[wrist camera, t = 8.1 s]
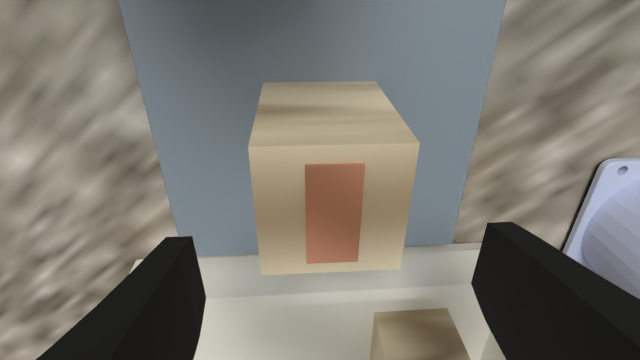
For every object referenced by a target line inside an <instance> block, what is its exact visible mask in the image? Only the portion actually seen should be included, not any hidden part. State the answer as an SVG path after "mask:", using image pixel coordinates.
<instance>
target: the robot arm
mask: <svg viewBox="0 0 640 360" xmlns="http://www.w3.org/2000/svg"><path fill="white" fill-rule="evenodd" d="M619 168H620V169H619ZM618 169H619V170H618ZM471 285H472V287H473V290H474V293H475V295H476V298H477V301H478V304H479V306H480V309H481V311H482V313H483V316H484V318H485V321H486V323H487V325H488V327H489V329H490V330H491V332H492V334H493V336H494V338H495V340H496V342H497V344H498V345H499V347H500V349H501V351H502V353H503V355H504V356H505V358H506V360H640V158H621V159H608V160H606V161H604V162H603V163H601V164H600V166H599V167H598V170H597V172H596V174H595V177H594V179H593V181H592V184H591V186H590V188H589V191H588V193H587V195H586V198H585V200H584V202H583V205H582V207H581V209H580V212H579V214H578V216H577V219H576V221H575V223H574V226H573V228H572V230H571V233H570V235H569V238H568V240H567V242H566V245H565V247H564V249H563V252H561V251H559V250H558V249H556V248H555V247H553V246H551V245H550V244H548V243H547V242H545V241H543V240H542V239H540V238H539V237H537V236H535V235H534V234H532V233H530V232H529V231H527V230H525V229H524V228H522V227H520V226H518V225H516V224H514V223H513V222H499V223H487V227H486V230H485V234H484V238H483V241H482V245H481V248H480V252H479V256H478V259H477V263H476V266H475V270H474V274H473V277H472V281H471ZM205 302H206V294H205V290H204V285H203V281H202V276H201V272H200V268H199V263H198V259H197V255H196V250H195V246H194V242H193V237H192V236H185V237H166V238H165V239H164V240H163V241H162V242H161V243H160V244H159V245H158V246H157V247H156V248H155V249H154V250H153V251H152V252H151V253H150V254H149V255H148V256H147V257H146V258H145V259H144V260H143V261H142V262H141V263H140V264H139V265H138V266H137V267H136V268H135V269H134V270H133V271H132V272H131V273H130V274H129V275H128V276H127V277H126V278H125V279H124V280H123V281H122V282H121V283H120V284H119V285H118V286H117V287H116V288H115V289H114V290H113V291H112V292H110V293H109V294H108V295H107V296H106V297H105V298H104V299H103V300H102V301H101V302H100V303H99V304H98V305H97V306H96V307H95V308H94V309H93V310H92V311H90V312H89V313H88V314H87V315H86V316H85V317H84V318H83V319H82V320H80V321H79V322H78V323H77V324H76V325H75V326H74V327H73V328H72V329H70V330H69V331H68V332H67V333H66V334H65V335H64V336H63V337H62V338H60V339H59V340H58V341H57V342H56V343H55V344H54V345H53V346H52V347H50V348H49V349H48V350H47V351H46V352H44V353H43V354H42V355H41V356H40V357H39V358H37V359H36V360H193V359H194V356H195V352H196V349H197V345H198V342H199V338H200V332H201V327H202V321H203V315H204V308H205Z"/></svg>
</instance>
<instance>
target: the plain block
mask: <svg viewBox="0 0 640 360" xmlns="http://www.w3.org/2000/svg"><path fill="white" fill-rule="evenodd" d="M370 360H471V359H470V357H469V355H468V352H467V350H466V348H465V346H464V344H463V341H462V339H461V337H460V335H459V333H458V330H457V328H456V326H455V324H454V322H453V319H452V317H451V315H450V313H449V311H448V308H440V309H423V310H406V311H389V312H374V320H373V330H372V340H371V350H370Z"/></svg>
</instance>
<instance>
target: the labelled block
mask: <svg viewBox="0 0 640 360" xmlns="http://www.w3.org/2000/svg"><path fill="white" fill-rule="evenodd" d="M419 146H420V142H419V141H418V140H417V138H416V137H415V136H414V134H413V133H412V131H411V130H410V129H409V127H408V126H407V124H406V123H405V122H404V120H403V119H402V117H401V116H400V115H399V113H398V112H397V111H396V109H395V108H394V106H393V105H392V104H391V102H390V101H389V99H388V98H387V97H386V95H385V94H384V93H383V91H382V90H381V88H380V87H379V86H378V84H377V83H376V81H349V82H271V83H263V86H262V90H261V94H260V99H259V103H258V107H257V111H256V115H255V120H254V124H253V128H252V132H251V136H250V141H249V145H248V152H249V162H250V172H251V181H252V191H253V201H254V211H255V221H256V230H257V240H258V250H259V260H260V269H261V275H282V274H305V273H327V272H350V271H372V270H395V269H400V268H401V261H402V255H403V248H404V242H405V236H406V229H407V223H408V216H409V210H410V203H411V197H412V191H413V184H414V178H415V171H416V165H417V159H418V152H419Z"/></svg>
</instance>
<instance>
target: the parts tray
mask: <svg viewBox="0 0 640 360" xmlns="http://www.w3.org/2000/svg"><path fill="white" fill-rule="evenodd" d="M481 245H482V243H462V244H442V245H422V246H404V248H403V255H402V261H401V268H400V269H395V270H372V271H350V272H327V273H305V274H282V275H261V269H260V260H259V254H241V255H221V256H201V257H197V259H198V263H199V268H200V272H201V276H202V281H203V285H204V290H205V294H206V302H205V308H204V315H203V321H202V327H201V332H200V338H199V342H198V345H197V349H196V352H195V356H194V359H193V360H370V350H371V340H372V330H373V320H374V312H389V311H406V310H423V309H440V308H448V311H449V313H450V315H451V317H452V319H453V322H454V324H455V326H456V328H457V330H458V333H459V335H460V337H461V339H462V341H463V344H464V346H465V348H466V350H467V352H468V355H469V357H470V359H471V360H506V358H505V356H504V355H503V353H502V351H501V349H500V347H499V345H498V344H497V342H496V340H495V338H494V336H493V334H492V332H491V330H490V329H489V327H488V325H487V323H486V321H485V318H484V316H483V313H482V311H481V309H480V306H479V304H478V301H477V298H476V295H475V293H474V290H473V287H472V285H471V281H472V277H473V274H474V270H475V266H476V263H477V259H478V256H479V252H480V248H481ZM143 260H144V259H140V260H136V262H135V264H134V266H133V268H132V270H131V272H132V271H133V270H134V269H135V268H136V267H137V266H138V265H139V264H140V263H141V262H142V261H143ZM131 272H130V273H131ZM130 273H129V274H130Z"/></svg>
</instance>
